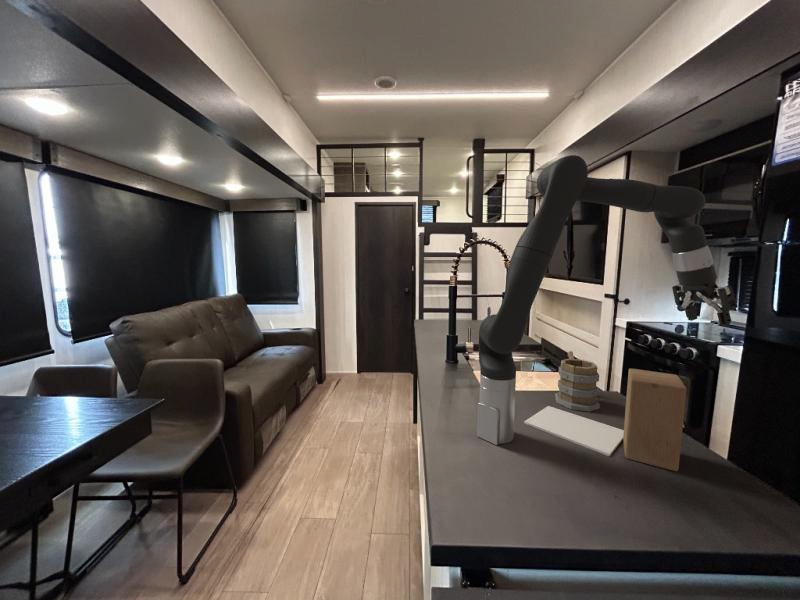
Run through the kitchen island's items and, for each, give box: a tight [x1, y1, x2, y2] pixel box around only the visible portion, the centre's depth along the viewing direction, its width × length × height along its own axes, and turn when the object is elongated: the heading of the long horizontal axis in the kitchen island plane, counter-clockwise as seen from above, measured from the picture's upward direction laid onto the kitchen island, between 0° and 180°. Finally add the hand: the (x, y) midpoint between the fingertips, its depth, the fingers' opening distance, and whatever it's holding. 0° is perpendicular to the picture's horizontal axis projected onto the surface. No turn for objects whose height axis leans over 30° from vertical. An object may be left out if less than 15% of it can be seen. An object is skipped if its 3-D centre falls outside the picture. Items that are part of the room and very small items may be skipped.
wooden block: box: [622, 368, 687, 472], centre depth 78 cm, size 10×10×20 cm
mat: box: [523, 405, 624, 457], centre depth 92 cm, size 16×22×1 cm
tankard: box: [554, 350, 601, 412], centre depth 112 cm, size 20×13×15 cm, turn 161°
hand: (708, 322), depth 86 cm, fingers open, 8 cm apart
